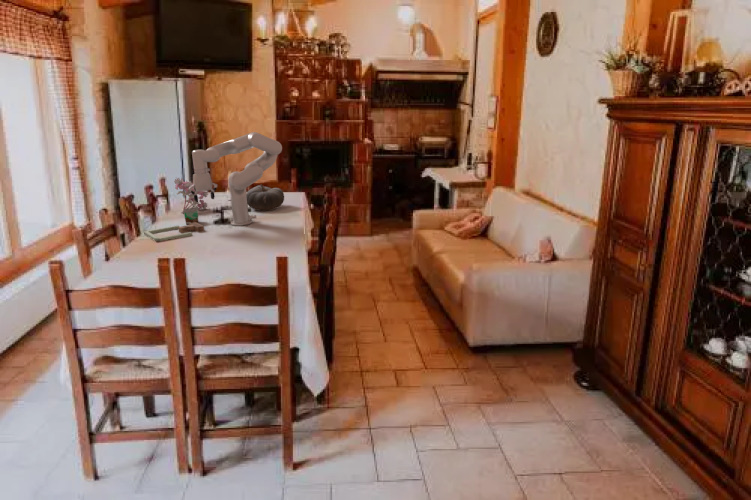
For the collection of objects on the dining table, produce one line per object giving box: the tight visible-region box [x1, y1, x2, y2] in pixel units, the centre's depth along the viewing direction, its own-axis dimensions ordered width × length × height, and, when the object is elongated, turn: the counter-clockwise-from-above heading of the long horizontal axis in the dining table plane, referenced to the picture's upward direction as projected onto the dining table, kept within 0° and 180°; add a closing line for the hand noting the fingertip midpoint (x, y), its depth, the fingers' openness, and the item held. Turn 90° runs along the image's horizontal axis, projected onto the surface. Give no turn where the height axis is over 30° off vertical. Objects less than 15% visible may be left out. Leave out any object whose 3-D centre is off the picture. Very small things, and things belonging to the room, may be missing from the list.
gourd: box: [246, 184, 285, 212], centre depth 372 cm, size 25×25×17 cm
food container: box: [182, 204, 200, 226], centre depth 339 cm, size 12×6×10 cm, turn 168°
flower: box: [173, 177, 211, 214], centre depth 370 cm, size 20×22×24 cm
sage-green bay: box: [143, 224, 193, 242], centre depth 314 cm, size 20×23×2 cm
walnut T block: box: [177, 222, 205, 234], centre depth 321 cm, size 12×13×3 cm
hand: (204, 200), depth 324 cm, fingers open, 9 cm apart
